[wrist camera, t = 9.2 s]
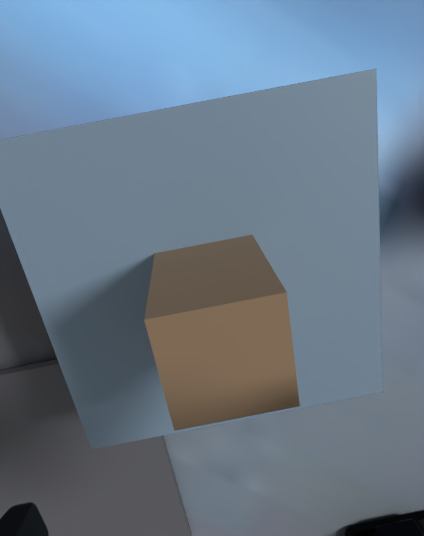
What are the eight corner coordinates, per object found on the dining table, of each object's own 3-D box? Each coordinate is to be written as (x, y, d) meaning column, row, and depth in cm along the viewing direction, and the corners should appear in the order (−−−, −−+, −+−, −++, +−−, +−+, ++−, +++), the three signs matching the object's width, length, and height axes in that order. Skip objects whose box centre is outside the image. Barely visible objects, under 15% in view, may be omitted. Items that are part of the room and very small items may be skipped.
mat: (191, 532, 27) (191, 540, 27) (-31, 577, 27) (-35, 585, 26) (136, 343, 21) (135, 348, 21) (-145, 398, 21) (-152, 405, 21)
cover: (374, 381, 19) (454, 491, 13) (94, 435, 18) (61, 569, 13) (365, 70, 14) (486, 46, 8) (-14, 142, 14) (-138, 164, 8)
